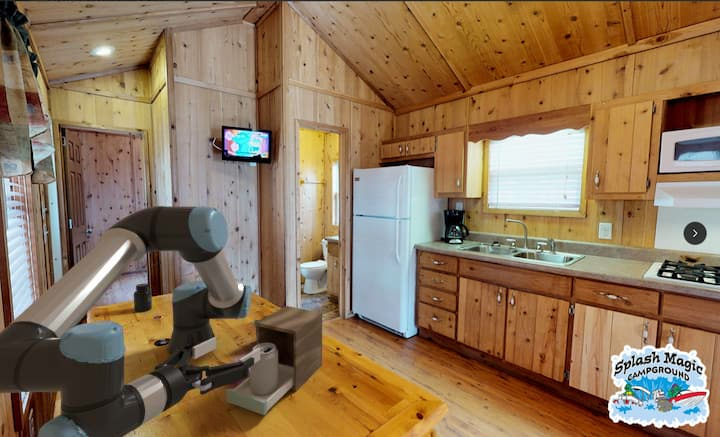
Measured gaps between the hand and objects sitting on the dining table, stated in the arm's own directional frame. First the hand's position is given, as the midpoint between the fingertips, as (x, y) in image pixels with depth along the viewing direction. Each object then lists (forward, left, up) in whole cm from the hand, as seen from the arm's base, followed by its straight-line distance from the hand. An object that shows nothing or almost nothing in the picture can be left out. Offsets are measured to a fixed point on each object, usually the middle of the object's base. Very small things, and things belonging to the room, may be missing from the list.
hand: (236, 348), depth 78 cm
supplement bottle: (-91, +36, -19) cm, 100 cm away
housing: (+1, +22, -18) cm, 29 cm away
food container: (-17, +36, -19) cm, 44 cm away
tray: (+1, +11, -17) cm, 20 cm away
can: (+1, +10, -16) cm, 19 cm away
